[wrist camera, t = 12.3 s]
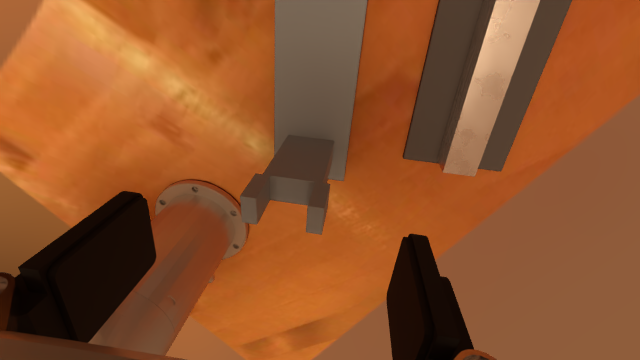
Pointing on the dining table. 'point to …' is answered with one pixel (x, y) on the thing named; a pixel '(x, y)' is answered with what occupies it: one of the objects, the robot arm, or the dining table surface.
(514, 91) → the mat
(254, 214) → the rack
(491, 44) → the rail
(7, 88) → the dining table surface
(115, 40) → the dining table surface
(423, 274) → the robot arm
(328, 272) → the dining table surface
